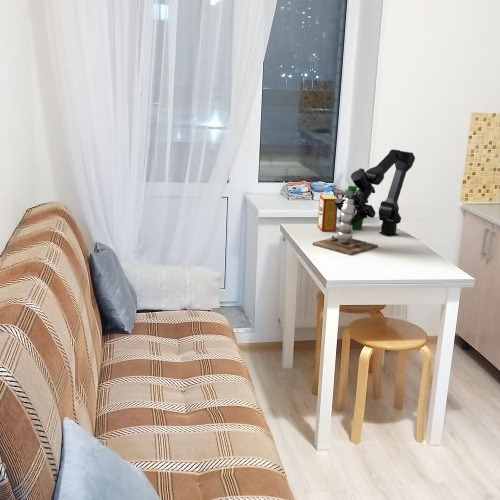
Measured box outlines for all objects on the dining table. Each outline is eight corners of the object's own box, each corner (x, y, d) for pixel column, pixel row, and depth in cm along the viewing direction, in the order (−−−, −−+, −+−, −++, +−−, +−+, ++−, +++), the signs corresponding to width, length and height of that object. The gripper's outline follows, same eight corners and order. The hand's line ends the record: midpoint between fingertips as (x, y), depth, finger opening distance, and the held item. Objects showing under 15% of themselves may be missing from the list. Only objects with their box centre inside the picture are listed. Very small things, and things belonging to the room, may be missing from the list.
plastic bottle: (354, 242, 287) (360, 198, 280) (346, 246, 281) (353, 201, 274) (341, 238, 290) (347, 195, 283) (333, 242, 285) (339, 197, 278)
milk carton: (344, 224, 322) (348, 184, 317) (363, 226, 321) (367, 186, 315) (343, 229, 314) (346, 187, 309) (362, 230, 313) (366, 189, 307)
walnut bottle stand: (340, 237, 299) (341, 231, 298) (377, 247, 285) (378, 240, 285) (312, 244, 285) (313, 238, 284) (350, 255, 272) (350, 248, 271)
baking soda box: (317, 226, 317) (319, 194, 312) (330, 226, 318) (333, 194, 313) (322, 231, 308) (324, 198, 303) (335, 231, 309) (338, 198, 304)
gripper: (338, 180, 287) (320, 208, 282) (374, 186, 274) (356, 216, 270) (347, 195, 294) (330, 223, 290) (383, 202, 282) (365, 231, 277)
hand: (345, 223), depth 282 cm, fingers closed on plastic bottle, 6 cm apart
